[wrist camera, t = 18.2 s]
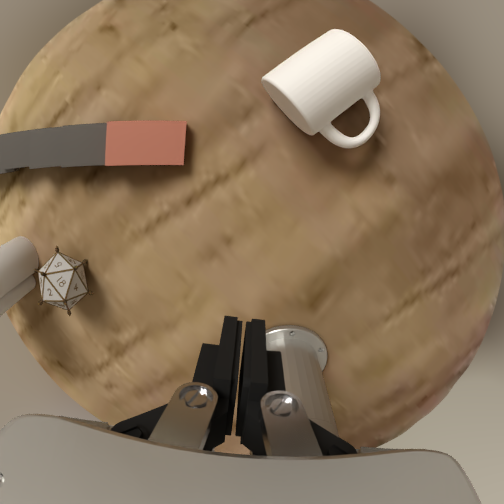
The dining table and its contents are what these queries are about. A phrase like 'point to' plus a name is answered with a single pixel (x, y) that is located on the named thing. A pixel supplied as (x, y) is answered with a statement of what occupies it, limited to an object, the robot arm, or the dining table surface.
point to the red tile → (145, 143)
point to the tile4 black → (15, 149)
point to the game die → (62, 281)
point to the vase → (16, 271)
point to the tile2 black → (83, 145)
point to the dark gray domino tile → (45, 148)
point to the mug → (326, 86)
